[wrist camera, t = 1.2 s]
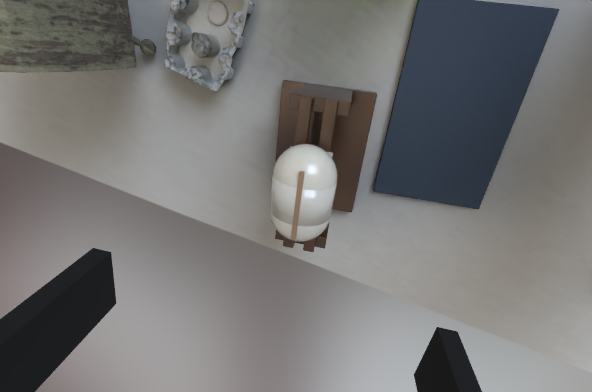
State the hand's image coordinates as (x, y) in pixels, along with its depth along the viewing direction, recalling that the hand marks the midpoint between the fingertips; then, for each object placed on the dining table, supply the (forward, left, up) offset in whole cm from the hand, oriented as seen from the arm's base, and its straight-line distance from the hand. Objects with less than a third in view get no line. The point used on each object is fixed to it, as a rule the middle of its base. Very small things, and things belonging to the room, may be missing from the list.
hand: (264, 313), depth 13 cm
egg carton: (+13, -10, -27) cm, 32 cm away
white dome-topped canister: (0, +1, -16) cm, 16 cm away
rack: (0, +1, -27) cm, 27 cm away
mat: (-13, -5, -27) cm, 30 cm away
